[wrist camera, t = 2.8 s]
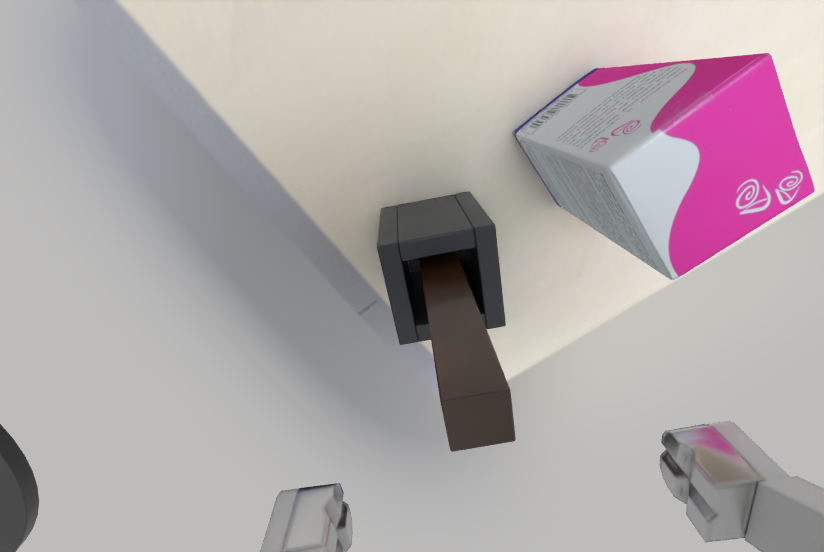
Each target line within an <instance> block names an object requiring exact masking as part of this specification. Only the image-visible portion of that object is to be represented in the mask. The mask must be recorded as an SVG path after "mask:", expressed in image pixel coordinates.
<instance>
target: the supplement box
mask: <svg viewBox="0 0 824 552" xmlns="http://www.w3.org/2000/svg"><path fill="white" fill-rule="evenodd" d="M513 134H514V136H515V138H516V140H517V141H518V143H519V144H520V146H521V147H522V149H523V150H524V152H525V154H526V155H527V157H528V158H529V160H530V162H531V163H532V165H533V166H534V168H535V170H536V171H537V173H538V174H539V176H540V178H541V179H542V181H543V182H544V184H545V186H546V187H547V189H548V190H549V192H550V193H551V195H552V197H553V198H554V200H555V201H556V203H557V204H558V206H560V207H562V208H563V209H565V210H566V211H568V212H569V213H571V214H573V215H574V216H576V217H577V218H579V219H580V220H582V221H583V222H585V223H586V224H588V225H589V226H591V227H592V228H594V229H595V230H597V231H598V232H600V233H601V234H603V235H605V236H606V237H607V238H609V239H610V240H612V241H613V242H615V243H616V244H618V245H619V246H621V247H622V248H624V249H626V250H627V251H629V252H630V253H631V254H633V255H635V256H636V257H638V258H639V259H641V260H642V261H643V262H645V263H647V264H648V265H650V266H651V267H653V268H654V269H656V270H657V271H659V272H660V273H662V274H663V275H665V276H666V277H668V278H669V279H671V280H675V279H677V278H679V277H680V276H681V275H683V274H685V273H686V272H688V271H690V270H691V269H693V268H694V267H696V266H697V265H699V264H701V263H702V262H704V261H705V260H707V259H709V258H710V257H712V256H713V255H715V254H716V253H718V252H720V251H721V250H723V249H724V248H726V247H727V246H729V245H731V244H732V243H734V242H735V241H737V240H739V239H740V238H742V237H743V236H745V235H746V234H748V233H750V232H751V231H753V230H754V229H756V228H758V227H759V226H761V225H762V224H764V223H765V222H767V221H769V220H770V219H772V218H773V217H775V216H777V215H778V214H780V213H781V212H783V211H785V210H786V209H788V208H789V207H791V206H793V205H794V204H796V203H797V202H799V201H800V200H802V199H804V198H805V197H807V196H808V195H810V194H811V193H813V192H814V186H813V182H812V179H811V176H810V173H809V170H808V167H807V164H806V162H805V159H804V156H803V154H802V151H801V149H800V146H799V143H798V140H797V138H796V134H795V131H794V128H793V125H792V121H791V118H790V115H789V112H788V109H787V105H786V102H785V99H784V96H783V92H782V89H781V86H780V83H779V79H778V76H777V73H776V69H775V66H774V63H773V60H772V57H771V55H770V54H769V53H764V54H753V55H743V56H733V57H723V58H712V59H700V60H690V61H678V62H668V63H655V64H644V65H634V66H624V67H612V68H596V69H594V70H592V71H591V72H589V73H588V74H587V75H585V76H584V77H583V78H581V79H580V80H579V81H577V82H576V83H575V84H574V85H572V86H571V87H570V88H568V89H567V90H566V91H564V92H563V93H562V94H561V95H559V96H558V97H557V98H555V99H554V100H553V101H552V102H550V103H549V104H548V105H546V106H545V107H544V108H543V109H541V110H540V111H539V112H538V113H536V114H535V115H534V116H533V117H531V118H530V119H529V120H528V121H526V122H525V123H524V124H523V125H521V126H520V127H519V128H518V129H516V130H515V131H514V132H513Z"/></svg>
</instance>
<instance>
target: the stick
mask: <svg viewBox="0 0 824 552" xmlns="http://www.w3.org/2000/svg"><path fill="white" fill-rule="evenodd" d="M419 262H420V269H421V275H422V282H423V289H424V295H425V302H426V308H427V315H428V322H429V328H430V335H431V341H432V348H433V355H434V361H435V368H436V374H437V381H438V388H439V394H440V401H441V406H442V411H443V416H444V421H445V426H446V431H447V436H448V441H449V446H450V450H451V451H459V450H465V449H471V448H476V447H483V446H489V445H494V444H501V443H506V442H512V441H515V430H514V420H513V412H512V402H511V393H510V388H509V386H508V383H507V381H506V378H505V376H504V373H503V370H502V368H501V365H500V363H499V360H498V358H497V355H496V353H495V350H494V348H493V345H492V342H491V340H490V337H489V335H488V332H487V330H486V327H485V325H484V322H483V319H482V317H481V314H480V312H479V309H478V307H477V304H476V302H475V299H474V297H473V294H472V291H471V289H470V286H469V284H468V281H467V279H466V276H465V274H464V271H463V268H462V266H461V263H460V261H459V258H458V256H457V253H456V251H454V252H449V253H444V254H438V255H433V256H428V257H422V258H419Z"/></svg>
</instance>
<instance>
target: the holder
mask: <svg viewBox="0 0 824 552" xmlns="http://www.w3.org/2000/svg"><path fill="white" fill-rule="evenodd" d="M377 249H378V254H379V258H380V262H381V266H382V271H383V275H384V279H385V283H386V288H387V292H388V296H389V300H390V305H391V309H392V313H393V317H394V322H395V326H396V330H397V334H398V339H399V343H400V345H403V344H409V343H414V342H418V341H425V340H431V335H430V328H429V322H428V315H427V308H426V302H425V295H424V289H423V282H422V275H421V270H419V271H413V272H411V273H410V268H409V263H408V260H412V259H417V258H422V257H428V256H433V255H438V254H444V253H449V252H454V251H460V250H462V254H463V261H464V263H463V262H462V263H461V266H462V268H463V271H464V274H465V276H466V279H467V281H468V284H469V286H470V289H471V291H472V294H473V297H474V299H475V302H476V304H477V307H478V309H479V312H480V314H481V317H482V319H483V322H484V325H485V327H486V329H491V328H497V327H502V326H505V325H506V324H505V314H504V305H503V295H502V286H501V276H500V267H499V257H498V248H497V238H496V229H495V224H494V223H493V222H492V220H491V219H490V218H489V216H488V215H487V214H486V213H485V211H484V210H483V209H482V207H481V206H480V205H479V203H478V202H477V201H476V200H475V198H474V197H473V196H472V194H471V193H470V192H465V193H459V194H455V195H449V196H444V197H439V198H434V199H428V200H423V201H418V202H413V203H408V204H403V205H398V206H392V207H386V208H382V209H381V216H380V225H379V234H378V243H377Z"/></svg>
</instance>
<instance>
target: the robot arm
mask: <svg viewBox="0 0 824 552" xmlns="http://www.w3.org/2000/svg"><path fill="white" fill-rule="evenodd" d="M662 444H663V445H664V447H665V448H666V450H665V451H664V452H663V453H662V454H661V456H660V468H661V472H662V476H663V479H664V480H665V483H666V485H667V487H668V488H669V490H670V491H671V493H672V494H673V496H674V497H675V498H677V499H679V500H680V501H682V502H684V503H685V504H687V509H686V515H687V516H688V518H689V519H690V521H691V522H692V524H693V525H694V526H695V528H696V529H697V531H698V532H699V534H700V535H701V537H702V538H703V539H704V541H705V542H712V541H721V540H730V539H738V538H745V540H746V541H747V542H748V543H750V544H751V545H753V546H754V547H756V548H757V549H758V550H760V551H761V552H824V489H823V488H821V487H819V486H817V485H815V484H812V483H810V482H808V481H806V480H804V479H802V478H800V477H798V476H795V477H790V476H789V475H787V474H786V473H785V472H784V471H783V470H782V469H781V468H780V467H779V466H778V465H777V464H776V463H775V462H774V461H773V460H772V459H771V458H770V457H769V456H768V455H767V454H766V453H765V452H764V451H763V450H762V449H761V448H760V447H759V446H758V445H757V444H755V442H754V441H752V440H751V439H750V438H749V437H748V436H747V435H746V434H745V433H744V432H743V431H742V430H741V429H740V428H739V427H738V426H737V425H736V424H735V423H733V422H731V421H724V422H718V423H712V424H707V425H705V424H703V425H697V426H691V427H686V428H680V429H674V430H668V431H665V432H664V433H663V435H662ZM351 544H352V517H351V512H350V509H349V506H348V504H347V503H345V502H344V501H343V490H342V487H341V485H340V484H339V483H338V484H329V485H321V486H313V487H306V488H299V489H292V490H285V491H281V492H280V493H279V495H278V496H277V498H276V502H275V505H274V508H273V511H272V514H271V518H270V521H269V524H268V528H267V531H266V534H265V538H264V541H263V544H262V547H261V550H260V552H347V551H348V549H349V548H350V546H351Z"/></svg>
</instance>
